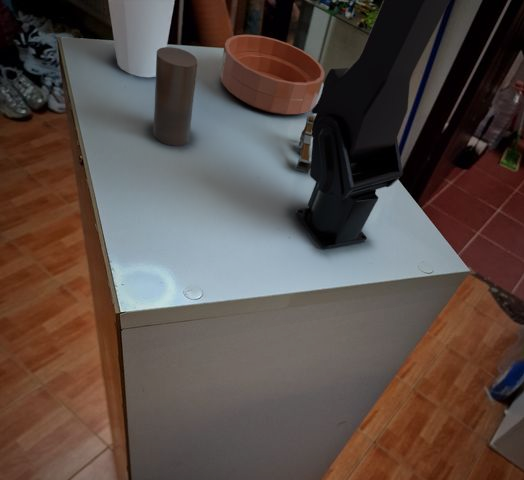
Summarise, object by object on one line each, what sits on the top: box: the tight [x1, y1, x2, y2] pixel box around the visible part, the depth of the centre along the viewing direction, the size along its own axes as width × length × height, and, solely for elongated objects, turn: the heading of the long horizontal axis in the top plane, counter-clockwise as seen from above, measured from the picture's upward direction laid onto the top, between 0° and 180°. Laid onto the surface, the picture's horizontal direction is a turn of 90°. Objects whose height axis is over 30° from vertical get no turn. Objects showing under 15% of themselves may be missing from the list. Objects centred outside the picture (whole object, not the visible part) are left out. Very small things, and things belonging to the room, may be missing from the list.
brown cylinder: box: [152, 46, 198, 147], centre depth 51 cm, size 4×4×9 cm
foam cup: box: [107, 0, 176, 78], centre depth 58 cm, size 10×9×13 cm
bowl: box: [219, 34, 326, 115], centre depth 66 cm, size 15×15×5 cm
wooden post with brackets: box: [295, 112, 316, 173], centre depth 58 cm, size 2×8×4 cm, turn 177°
